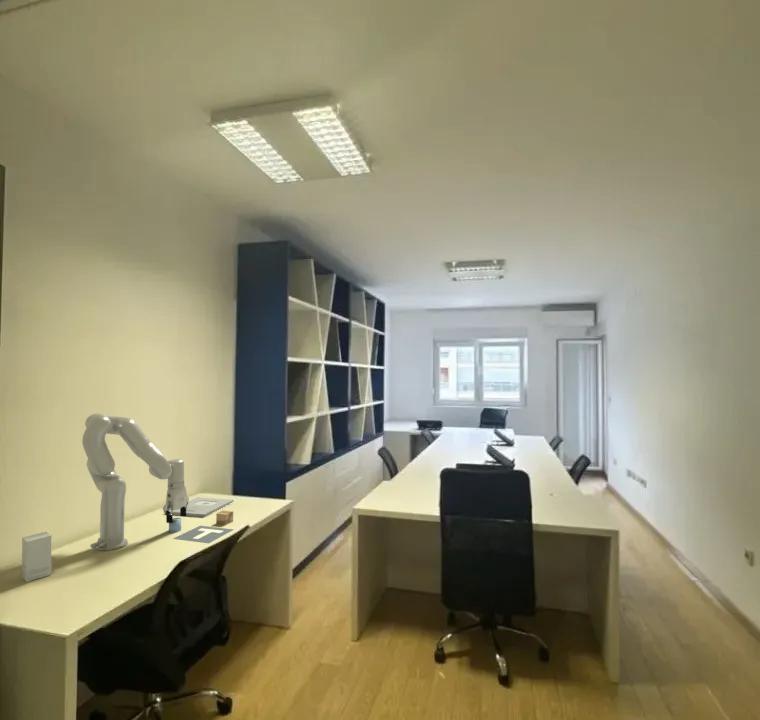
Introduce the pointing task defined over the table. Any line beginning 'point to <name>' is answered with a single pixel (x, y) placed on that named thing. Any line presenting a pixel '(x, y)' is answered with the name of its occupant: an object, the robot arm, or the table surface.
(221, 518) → the oak block
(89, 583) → the table surface
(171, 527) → the blue canister
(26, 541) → the skincare box
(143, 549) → the table surface
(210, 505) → the award plaque
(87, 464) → the robot arm
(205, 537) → the letter mat
